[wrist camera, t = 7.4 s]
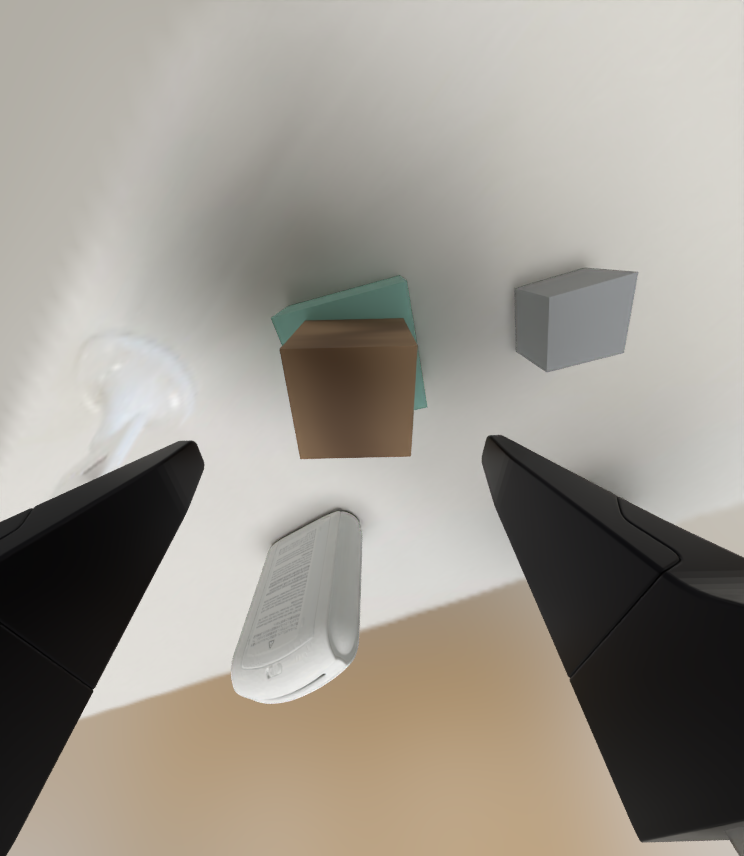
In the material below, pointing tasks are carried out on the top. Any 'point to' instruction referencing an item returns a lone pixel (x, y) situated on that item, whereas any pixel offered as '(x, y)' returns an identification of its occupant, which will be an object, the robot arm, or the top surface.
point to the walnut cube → (351, 387)
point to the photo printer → (302, 613)
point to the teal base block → (356, 314)
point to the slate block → (574, 317)
